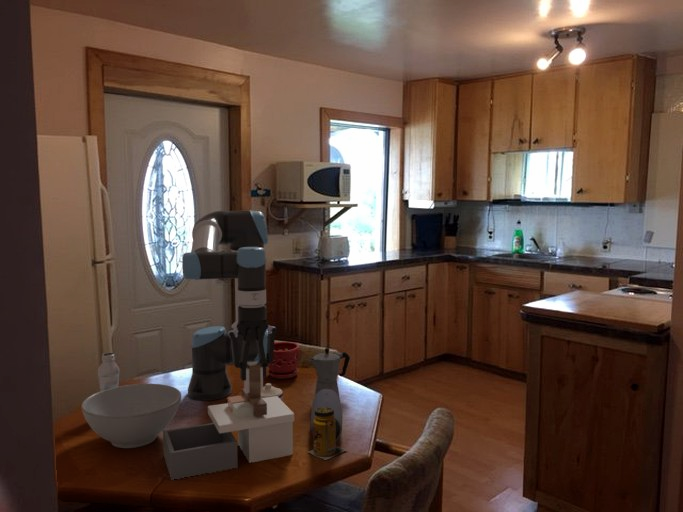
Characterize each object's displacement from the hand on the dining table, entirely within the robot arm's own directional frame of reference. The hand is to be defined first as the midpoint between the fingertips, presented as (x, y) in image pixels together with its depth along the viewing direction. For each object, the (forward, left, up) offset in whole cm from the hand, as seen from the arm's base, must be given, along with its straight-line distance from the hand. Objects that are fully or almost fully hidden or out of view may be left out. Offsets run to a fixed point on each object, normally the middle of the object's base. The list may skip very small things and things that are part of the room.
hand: (253, 390), depth 155 cm
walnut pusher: (0, 0, -5) cm, 5 cm away
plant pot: (-61, +28, -18) cm, 69 cm away
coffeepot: (-30, +35, -18) cm, 49 cm away
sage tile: (+3, -4, -5) cm, 7 cm away
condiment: (+8, +18, -18) cm, 27 cm away
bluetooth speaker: (-4, +23, -18) cm, 29 cm away
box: (0, -15, -17) cm, 23 cm away
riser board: (0, -2, -17) cm, 17 cm away
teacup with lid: (-21, +11, -18) cm, 29 cm away
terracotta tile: (-3, -4, -5) cm, 7 cm away
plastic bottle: (-44, -35, -18) cm, 59 cm away
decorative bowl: (-22, -30, -18) cm, 41 cm away
